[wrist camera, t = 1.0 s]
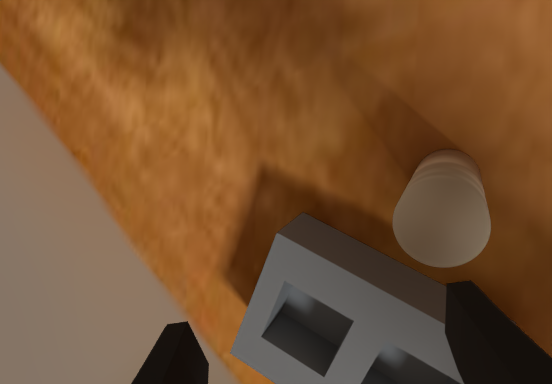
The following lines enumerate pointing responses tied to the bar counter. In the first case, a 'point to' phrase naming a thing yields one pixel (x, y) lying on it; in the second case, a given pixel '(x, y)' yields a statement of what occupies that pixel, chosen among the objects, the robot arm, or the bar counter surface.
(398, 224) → the dowel
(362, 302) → the socket block
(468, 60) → the bar counter surface
